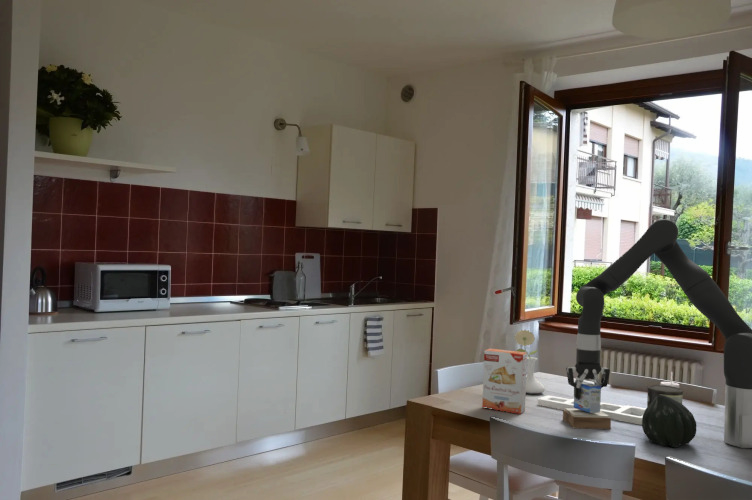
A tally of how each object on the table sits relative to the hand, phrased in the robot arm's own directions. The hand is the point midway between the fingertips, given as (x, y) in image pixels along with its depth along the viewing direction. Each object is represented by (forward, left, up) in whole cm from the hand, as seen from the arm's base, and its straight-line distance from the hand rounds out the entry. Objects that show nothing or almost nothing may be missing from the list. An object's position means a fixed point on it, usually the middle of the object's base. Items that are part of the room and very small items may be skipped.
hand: (587, 399), depth 205 cm
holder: (+18, -14, -9) cm, 25 cm away
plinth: (0, 0, -8) cm, 8 cm away
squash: (-20, -17, -9) cm, 27 cm away
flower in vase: (+48, +5, -8) cm, 49 cm away
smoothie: (+23, -40, -8) cm, 47 cm away
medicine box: (0, 0, -4) cm, 4 cm away
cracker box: (+17, +23, -8) cm, 30 cm away
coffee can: (-8, -22, -8) cm, 25 cm away
